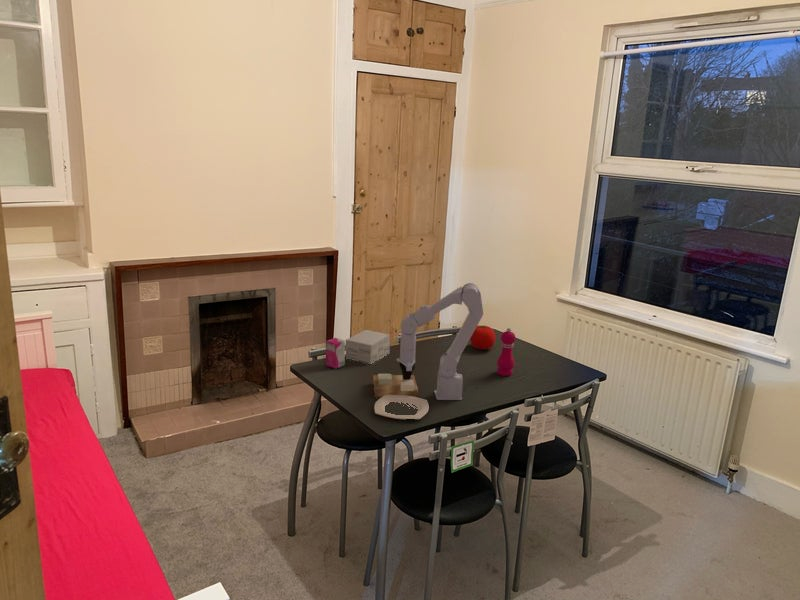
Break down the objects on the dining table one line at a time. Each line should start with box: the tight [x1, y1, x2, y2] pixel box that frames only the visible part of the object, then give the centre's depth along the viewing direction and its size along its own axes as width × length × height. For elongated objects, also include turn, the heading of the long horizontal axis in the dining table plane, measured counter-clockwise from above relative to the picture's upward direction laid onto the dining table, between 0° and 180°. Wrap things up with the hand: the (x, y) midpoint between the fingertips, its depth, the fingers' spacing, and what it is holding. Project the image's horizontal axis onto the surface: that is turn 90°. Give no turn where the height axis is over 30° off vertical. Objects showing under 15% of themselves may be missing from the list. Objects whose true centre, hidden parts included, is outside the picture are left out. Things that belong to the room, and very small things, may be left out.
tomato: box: [469, 324, 496, 350], centre depth 279 cm, size 12×13×11 cm
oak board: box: [372, 374, 419, 398], centre depth 229 cm, size 16×14×4 cm
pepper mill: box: [496, 327, 517, 377], centre depth 249 cm, size 7×7×20 cm
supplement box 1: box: [325, 337, 346, 370], centre depth 250 cm, size 6×6×12 cm
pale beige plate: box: [373, 395, 430, 420], centre depth 213 cm, size 19×19×2 cm
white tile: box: [400, 380, 414, 391], centre depth 223 cm, size 5×5×2 cm
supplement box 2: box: [345, 329, 391, 365], centre depth 263 cm, size 17×13×9 cm
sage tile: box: [377, 373, 392, 385], centre depth 228 cm, size 5×5×2 cm
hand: (406, 381), depth 226 cm, fingers closed
